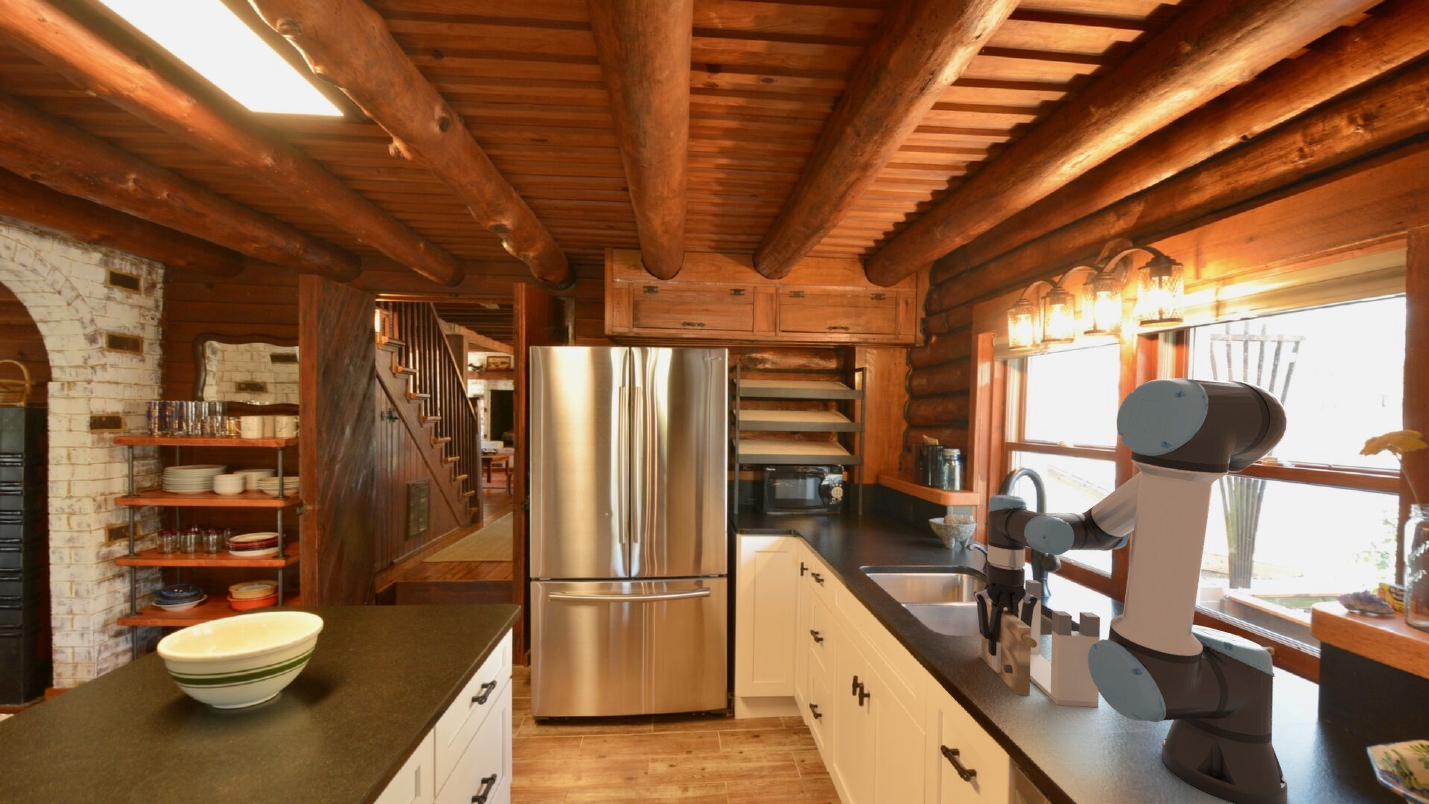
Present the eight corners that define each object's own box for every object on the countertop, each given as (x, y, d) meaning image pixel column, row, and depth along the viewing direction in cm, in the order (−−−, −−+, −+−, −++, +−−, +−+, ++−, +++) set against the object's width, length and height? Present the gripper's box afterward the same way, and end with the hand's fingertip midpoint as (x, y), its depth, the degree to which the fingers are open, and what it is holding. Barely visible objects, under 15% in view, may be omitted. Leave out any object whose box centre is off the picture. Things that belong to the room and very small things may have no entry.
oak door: (1038, 703, 112) (1039, 634, 112) (1019, 702, 112) (1020, 633, 113) (985, 651, 137) (986, 594, 137) (969, 650, 137) (971, 593, 137)
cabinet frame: (1098, 707, 111) (1100, 617, 112) (1057, 704, 112) (1059, 615, 112) (1034, 653, 136) (1035, 580, 136) (1000, 652, 136) (1002, 578, 137)
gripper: (1032, 562, 128) (1030, 664, 128) (963, 559, 129) (961, 660, 129) (1050, 571, 121) (1048, 680, 120) (977, 568, 122) (974, 676, 121)
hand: (1003, 669), depth 124 cm, fingers closed on oak door, 2 cm apart
